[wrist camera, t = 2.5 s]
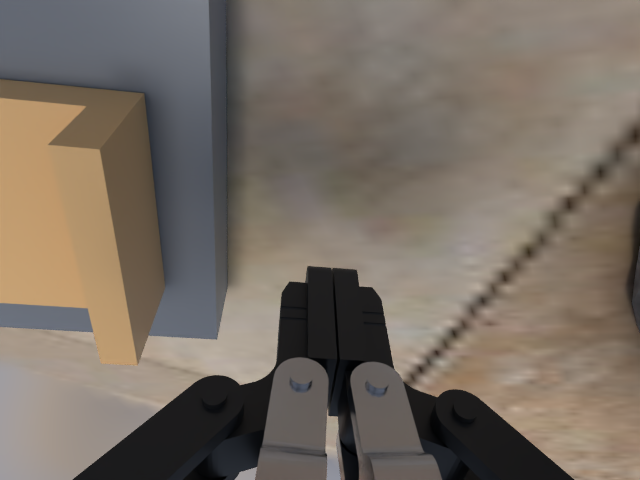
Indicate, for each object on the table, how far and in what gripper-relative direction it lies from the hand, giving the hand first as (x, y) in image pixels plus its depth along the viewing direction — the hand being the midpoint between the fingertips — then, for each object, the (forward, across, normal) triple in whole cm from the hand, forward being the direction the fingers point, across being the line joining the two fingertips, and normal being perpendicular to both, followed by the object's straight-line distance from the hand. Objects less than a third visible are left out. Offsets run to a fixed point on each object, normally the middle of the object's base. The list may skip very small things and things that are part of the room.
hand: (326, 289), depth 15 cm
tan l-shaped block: (+4, +10, 0) cm, 11 cm away
